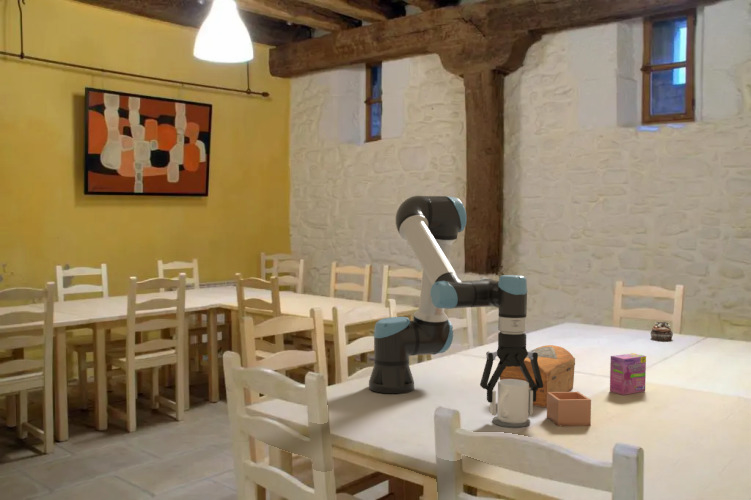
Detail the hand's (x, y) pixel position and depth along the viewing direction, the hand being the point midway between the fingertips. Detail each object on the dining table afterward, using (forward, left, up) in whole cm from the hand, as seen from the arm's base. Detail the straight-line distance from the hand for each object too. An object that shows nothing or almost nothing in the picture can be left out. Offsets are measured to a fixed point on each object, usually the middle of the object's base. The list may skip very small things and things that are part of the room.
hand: (511, 413), depth 187 cm
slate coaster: (0, 0, -2) cm, 2 cm away
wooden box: (+17, +31, -3) cm, 36 cm away
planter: (+16, 0, -2) cm, 16 cm away
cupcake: (+106, +121, -3) cm, 161 cm away
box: (+48, +32, -3) cm, 58 cm away
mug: (-1, -1, -2) cm, 2 cm away
